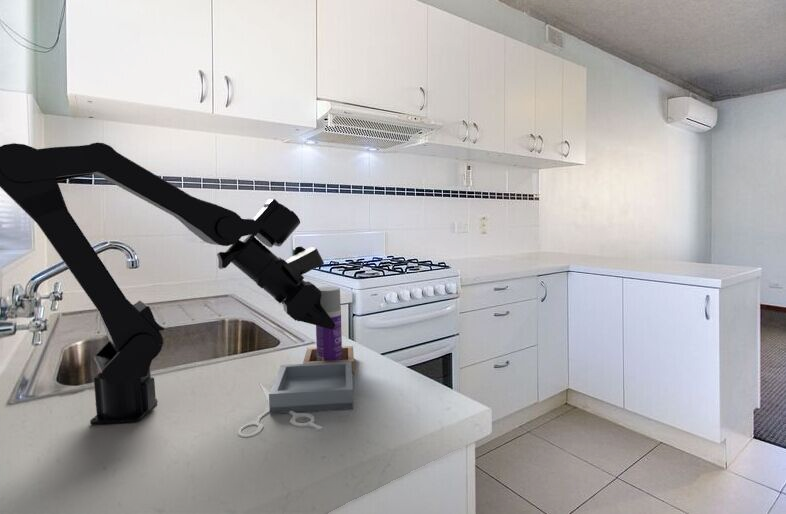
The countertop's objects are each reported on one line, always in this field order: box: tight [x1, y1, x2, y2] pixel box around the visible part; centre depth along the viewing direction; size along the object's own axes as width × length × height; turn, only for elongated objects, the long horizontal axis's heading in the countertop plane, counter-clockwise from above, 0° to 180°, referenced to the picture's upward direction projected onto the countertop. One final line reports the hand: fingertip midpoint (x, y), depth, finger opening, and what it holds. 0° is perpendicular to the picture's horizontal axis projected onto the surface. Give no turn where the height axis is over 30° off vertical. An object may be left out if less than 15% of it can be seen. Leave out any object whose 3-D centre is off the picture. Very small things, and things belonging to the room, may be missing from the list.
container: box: [315, 286, 343, 361], centre depth 80 cm, size 5×5×15 cm
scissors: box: [237, 383, 323, 438], centre depth 65 cm, size 11×1×20 cm
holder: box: [302, 345, 355, 376], centre depth 80 cm, size 9×9×2 cm
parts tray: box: [268, 362, 354, 415], centre depth 68 cm, size 12×12×3 cm
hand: (327, 321), depth 79 cm, fingers open, 9 cm apart
